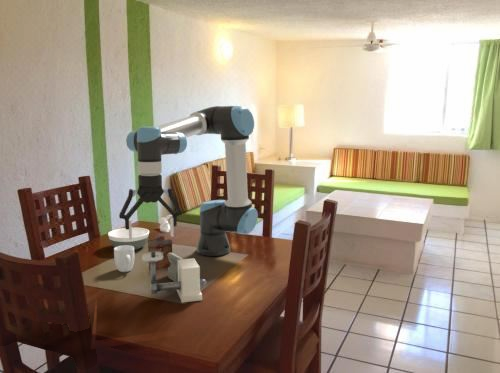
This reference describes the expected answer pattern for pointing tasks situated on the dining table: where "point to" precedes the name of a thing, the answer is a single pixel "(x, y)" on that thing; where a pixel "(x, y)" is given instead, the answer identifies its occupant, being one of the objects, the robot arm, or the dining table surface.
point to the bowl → (122, 237)
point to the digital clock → (173, 266)
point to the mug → (124, 257)
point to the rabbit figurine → (165, 224)
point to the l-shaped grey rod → (154, 287)
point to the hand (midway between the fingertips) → (151, 237)
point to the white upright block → (189, 280)
